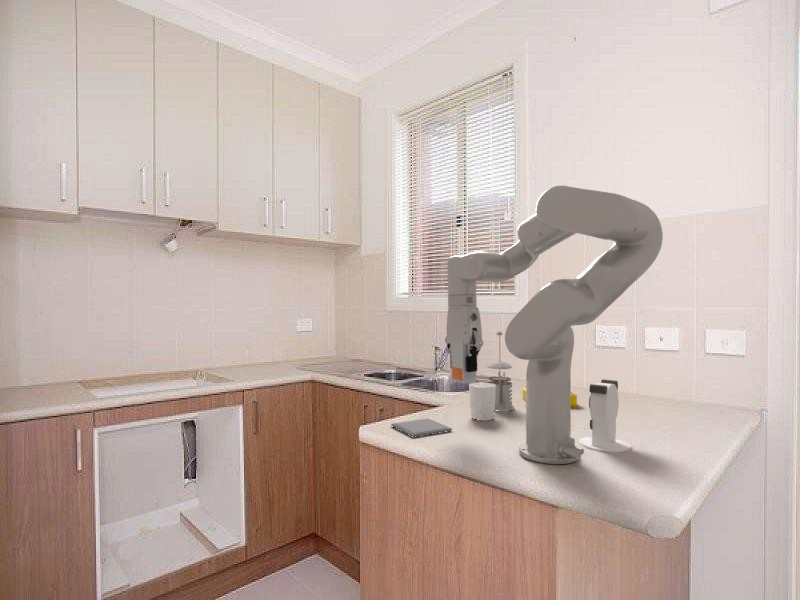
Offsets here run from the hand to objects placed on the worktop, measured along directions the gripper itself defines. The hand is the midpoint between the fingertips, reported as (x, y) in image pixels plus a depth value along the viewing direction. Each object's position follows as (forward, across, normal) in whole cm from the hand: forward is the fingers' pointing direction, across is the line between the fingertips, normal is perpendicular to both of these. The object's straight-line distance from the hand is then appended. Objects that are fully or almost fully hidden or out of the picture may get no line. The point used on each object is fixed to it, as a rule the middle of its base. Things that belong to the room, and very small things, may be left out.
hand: (463, 369), depth 119 cm
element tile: (+17, +16, -47) cm, 53 cm away
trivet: (+16, +9, +8) cm, 20 cm away
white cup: (+17, +10, -14) cm, 24 cm away
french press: (+17, +17, -27) cm, 36 cm away
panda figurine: (+18, -24, -24) cm, 38 cm away
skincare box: (+3, 0, 0) cm, 3 cm away
